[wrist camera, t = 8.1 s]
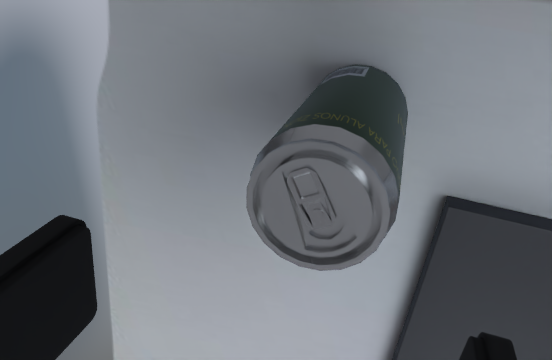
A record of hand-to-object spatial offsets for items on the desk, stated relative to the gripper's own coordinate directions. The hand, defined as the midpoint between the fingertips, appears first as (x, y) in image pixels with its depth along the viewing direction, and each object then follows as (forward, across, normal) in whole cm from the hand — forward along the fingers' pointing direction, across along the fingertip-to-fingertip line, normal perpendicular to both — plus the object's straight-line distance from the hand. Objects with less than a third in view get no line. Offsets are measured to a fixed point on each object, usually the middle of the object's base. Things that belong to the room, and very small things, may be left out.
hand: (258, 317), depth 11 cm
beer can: (+17, 0, 0) cm, 17 cm away
